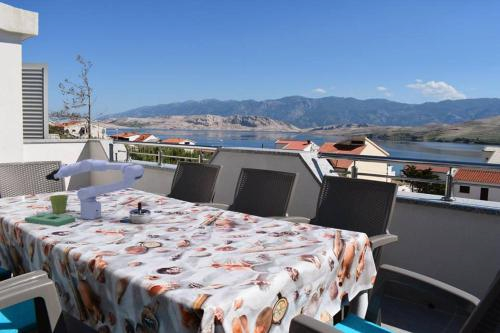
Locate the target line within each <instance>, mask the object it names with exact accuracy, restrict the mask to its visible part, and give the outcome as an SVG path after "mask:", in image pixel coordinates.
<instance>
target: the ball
mask: <svg viewBox="0 0 500 333" xmlns="http://www.w3.org/2000/svg"><path fill="white" fill-rule="evenodd" d="M44 213H45V210H44V209H42V208H39V209H38V210H36V215H38V216H43V215H44Z"/></svg>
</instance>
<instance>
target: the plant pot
mask: <svg viewBox="0 0 500 333" xmlns="http://www.w3.org/2000/svg"><path fill="white" fill-rule="evenodd" d="M48 198H49V201H50V203H51V204H50V205H51V209H52V214H64V213H65V212H67V204H68V203H67V202H68V199H69V195H68V194H56V195H50V196H48Z"/></svg>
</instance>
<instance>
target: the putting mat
mask: <svg viewBox="0 0 500 333" xmlns="http://www.w3.org/2000/svg"><path fill="white" fill-rule="evenodd" d="M25 221H27V222H26V223H29V222H33V223H32V224H36V223H40V224H39V225H44V224H45V225H44V226H52V227H60V226H64V225H67V224H70V223H74V222H76V216H70V215H63V214H62V215H61V214H56V213H44V215H43V216H38V215H37V214H35V215H30V216H27V217H24V222H25Z"/></svg>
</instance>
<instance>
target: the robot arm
mask: <svg viewBox="0 0 500 333" xmlns="http://www.w3.org/2000/svg"><path fill="white" fill-rule="evenodd" d="M108 170H114V171H120V173H121V174H123V176H122V180H120V181H115V182H111V183H107V184H102V185H97V186H96V185H90V186H87V187H81V188H79V189H78V190H77V192H76V193H77V194H76V197H77V198H78V200H79V202H80V215H78V216H76V218H77V219H83V220H84V219H85V220H96V219H99V218H102V217H103V215H102V204H101V202H100V201H99V200H97V197H98V196H101V195H105V194H109V193H114V192H118V191H124V190H127V189H131V188H133V187H134V186H135V185H136V183H138V182H139V180H141V179H142V178H143V176H144V174H145V168H144V166H143V165H142V164H137V163H136V164H135V163H132V162H131V163H130V162H109V161H108V160H105V159H104V158H100V159H95V158H89V159H84V160H81V161H76V162H72V163H69V164H67V163H66V164H65V163H62V164H60V168H58V169H54V170H52V171H51V172H50V173H47V175H45V179H46V180H47V181H55V182H59V181H60V180H61V179H60V178H68V177H71V176H74V175H78V174H82V173H84V172H89V171H93V172H107V171H108Z"/></svg>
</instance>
